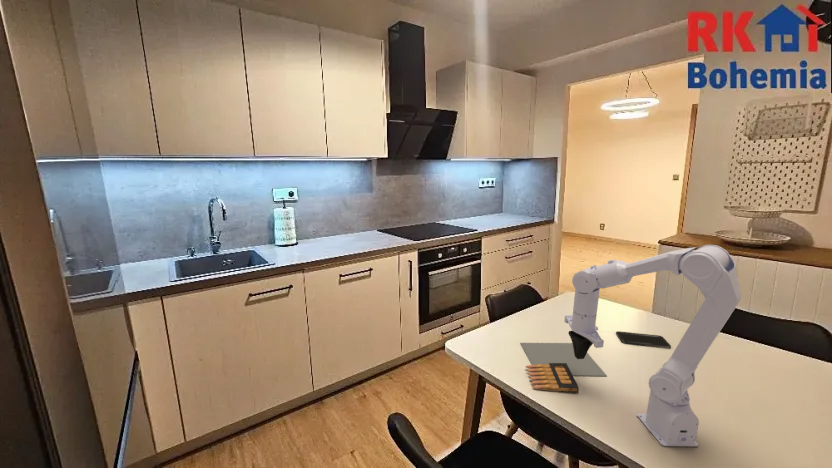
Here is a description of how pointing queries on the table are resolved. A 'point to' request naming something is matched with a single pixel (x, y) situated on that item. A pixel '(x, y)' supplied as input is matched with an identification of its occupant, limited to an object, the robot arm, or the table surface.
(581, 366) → the mat
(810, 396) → the table surface
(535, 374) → the ammunition clip
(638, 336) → the phone
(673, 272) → the robot arm
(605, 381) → the table surface
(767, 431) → the table surface
